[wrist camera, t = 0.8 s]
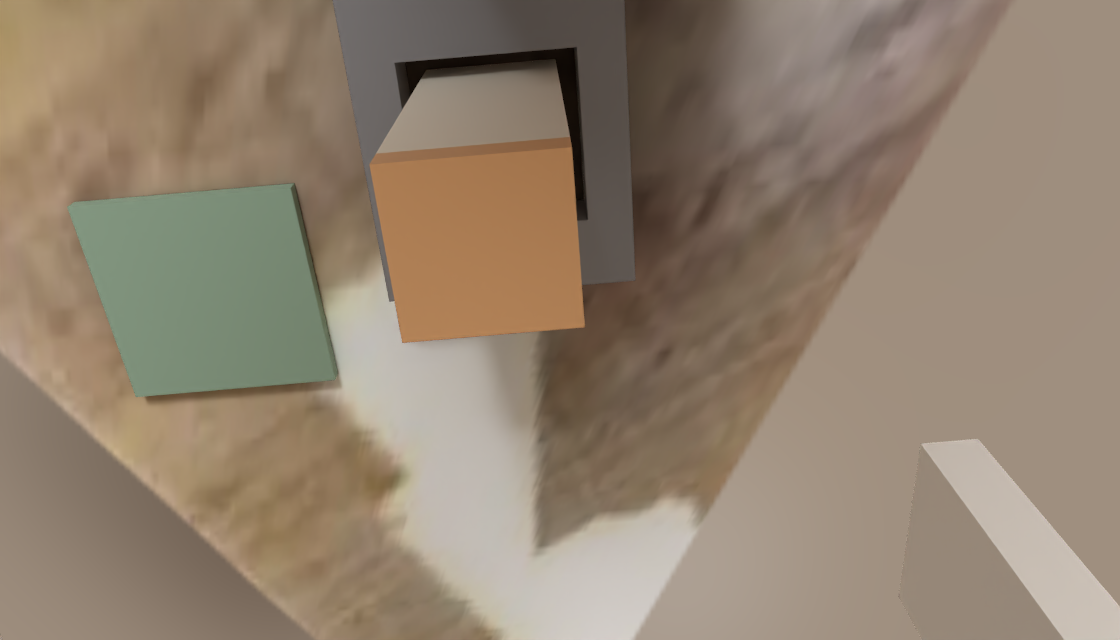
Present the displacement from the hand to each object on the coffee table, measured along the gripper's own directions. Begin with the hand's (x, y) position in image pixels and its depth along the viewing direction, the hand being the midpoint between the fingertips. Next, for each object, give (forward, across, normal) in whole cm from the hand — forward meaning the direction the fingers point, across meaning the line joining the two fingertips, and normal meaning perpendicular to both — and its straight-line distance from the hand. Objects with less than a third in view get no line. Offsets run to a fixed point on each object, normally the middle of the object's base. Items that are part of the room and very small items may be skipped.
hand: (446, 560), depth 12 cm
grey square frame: (+24, 0, 0) cm, 24 cm away
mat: (+24, -13, -6) cm, 28 cm away
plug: (+24, 0, 0) cm, 24 cm away
